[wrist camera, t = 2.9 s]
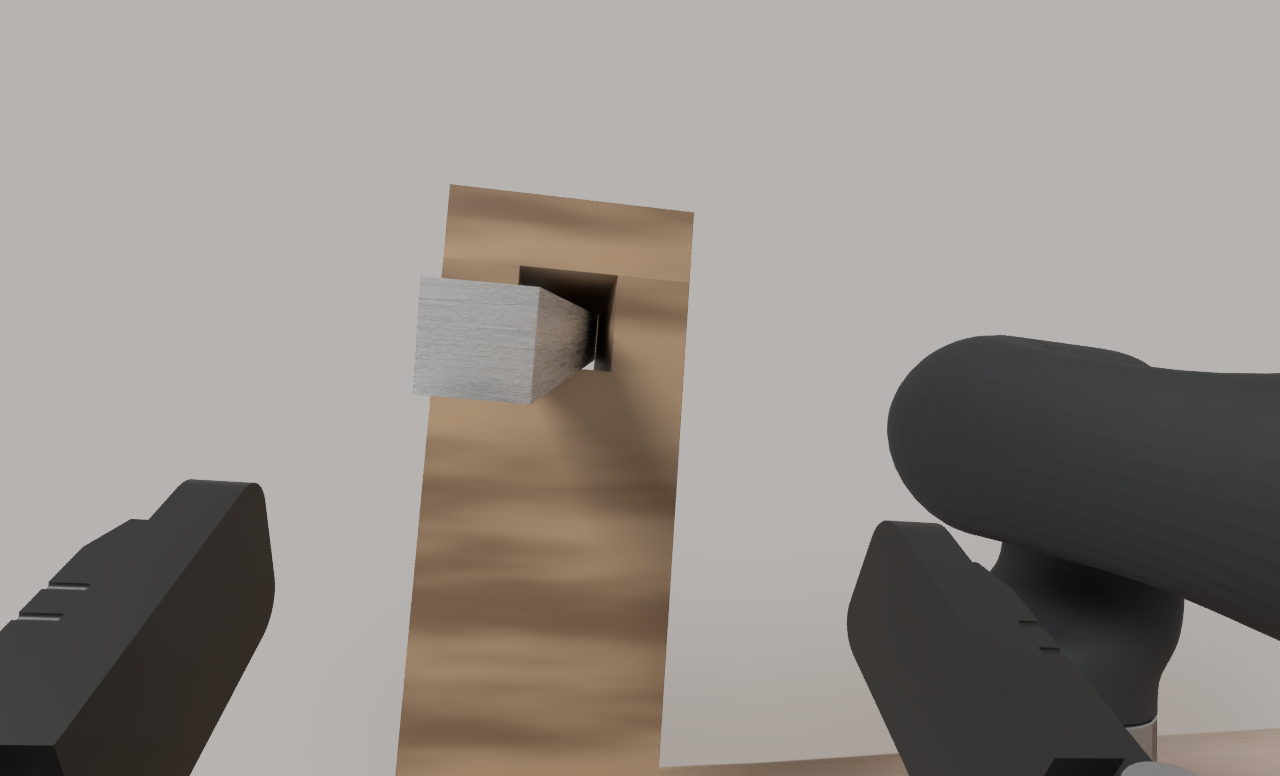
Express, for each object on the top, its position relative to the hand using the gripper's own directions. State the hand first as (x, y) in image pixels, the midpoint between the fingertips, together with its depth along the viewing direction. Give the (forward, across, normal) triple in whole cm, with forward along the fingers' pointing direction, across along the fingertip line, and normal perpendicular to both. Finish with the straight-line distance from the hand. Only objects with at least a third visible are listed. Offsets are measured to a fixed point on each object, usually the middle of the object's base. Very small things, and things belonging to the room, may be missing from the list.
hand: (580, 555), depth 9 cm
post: (+8, 0, +34) cm, 35 cm away
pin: (+17, +1, +5) cm, 17 cm away
